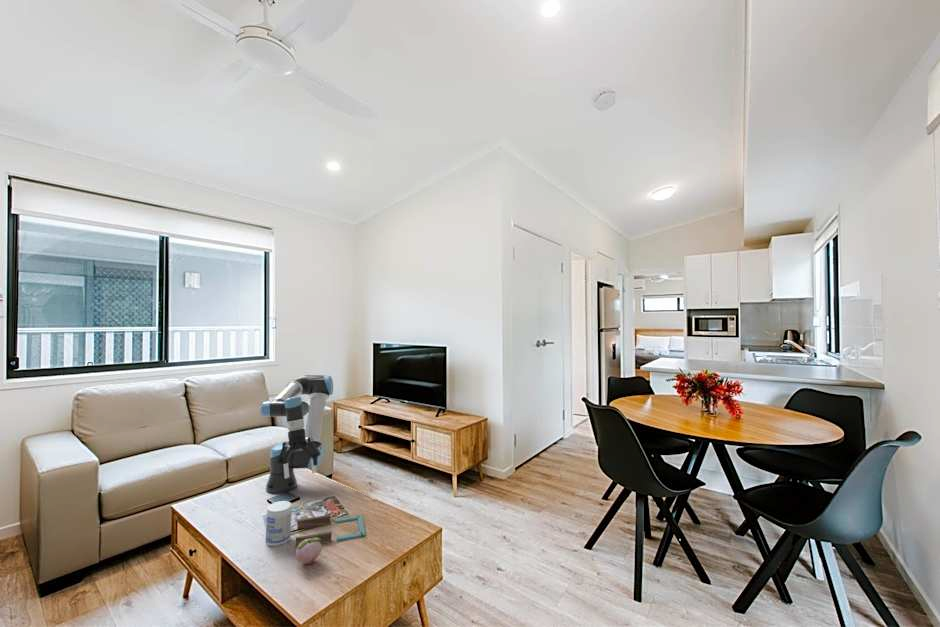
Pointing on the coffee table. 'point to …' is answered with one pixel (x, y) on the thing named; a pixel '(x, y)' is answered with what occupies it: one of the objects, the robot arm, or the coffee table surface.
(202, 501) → the coffee table surface
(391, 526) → the coffee table surface
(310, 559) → the decorative fruit
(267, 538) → the supplement tub
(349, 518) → the frame
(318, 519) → the channel walls
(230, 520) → the coffee table surface
